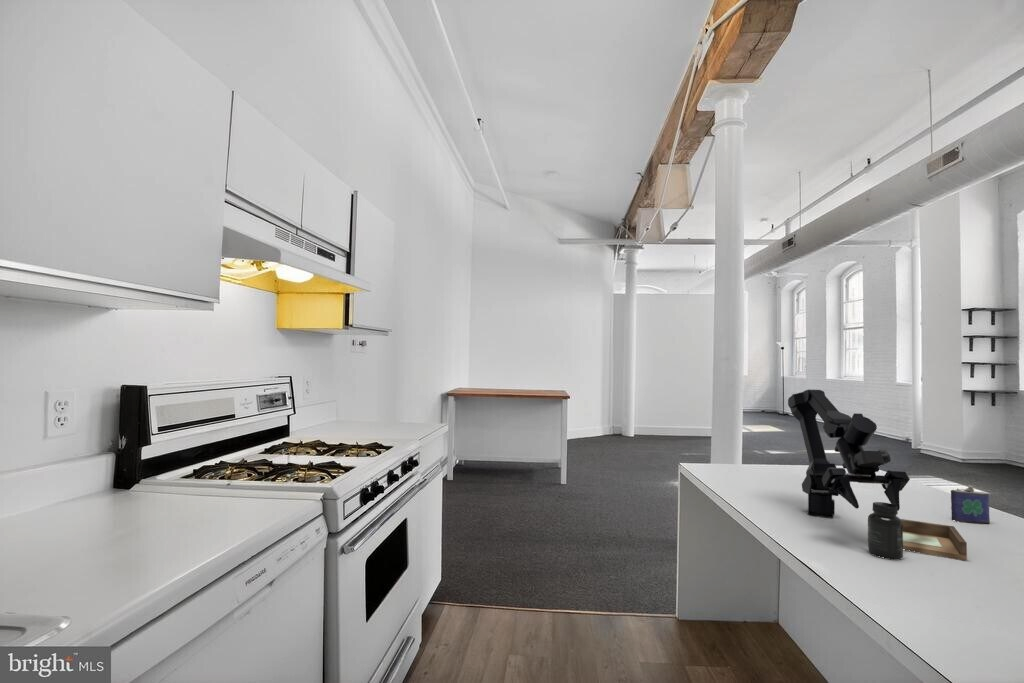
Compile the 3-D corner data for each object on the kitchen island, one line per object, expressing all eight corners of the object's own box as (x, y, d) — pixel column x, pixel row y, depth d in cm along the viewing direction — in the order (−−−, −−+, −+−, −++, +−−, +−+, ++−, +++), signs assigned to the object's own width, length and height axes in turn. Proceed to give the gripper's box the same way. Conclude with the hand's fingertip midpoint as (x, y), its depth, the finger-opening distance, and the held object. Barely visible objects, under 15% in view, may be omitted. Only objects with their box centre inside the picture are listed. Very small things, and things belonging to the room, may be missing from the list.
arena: (883, 546, 129) (882, 529, 129) (878, 531, 142) (878, 515, 142) (966, 560, 121) (966, 542, 121) (954, 542, 134) (953, 526, 134)
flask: (986, 522, 153) (985, 485, 153) (992, 525, 150) (992, 488, 150) (949, 519, 155) (948, 483, 156) (954, 522, 152) (954, 485, 153)
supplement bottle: (891, 550, 127) (890, 501, 127) (910, 561, 120) (909, 509, 121) (862, 549, 128) (861, 500, 128) (878, 559, 121) (878, 507, 121)
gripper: (826, 436, 135) (848, 488, 123) (904, 439, 132) (934, 493, 121) (813, 461, 142) (833, 513, 131) (887, 464, 139) (913, 517, 128)
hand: (877, 508), depth 127 cm, fingers open, 9 cm apart
